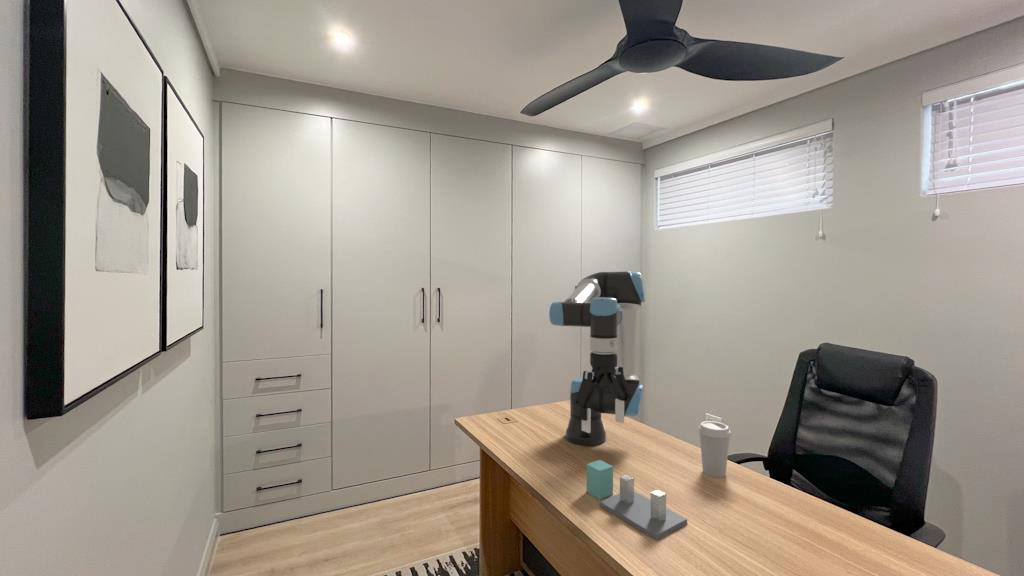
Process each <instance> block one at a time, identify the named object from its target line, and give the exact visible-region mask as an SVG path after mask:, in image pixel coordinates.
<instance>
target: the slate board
mask: <svg viewBox="0 0 1024 576" xmlns="http://www.w3.org/2000/svg"><path fill="white" fill-rule="evenodd" d="M650 505H651V498H650V499H649V498H647V496H645V495H642V494H640V493H638V492H636V491H634V502H633V503H631V504H629V505H626V504H624V503H623V502H621V501H620V493H618V494H615V495H613V496H611V497H610V496H609V497H608V498H604V499H603V500H601V501H599V507H601V508H603V509H604V510H605V511H606V512H608V513H610V514H612V515H614V516H616V517H617V518H619V519H621V520H622V521H624V522H626V523H627V524H628V525H630V526H632V527H633V528H635V529H636V530H639V531H640V532H642V533H644V534H645V535H646V536H649V537H650V538H651V539H653V540H655V541H657V540H659V539H661V538H663V537H665V536H666V535H669V534H670V533H672V532H674V531H676V530H678V529H680V528H682V527H683V526H686V525H687V524H688V519H687V518H686V517H684V516H683V515H680V514H678V513H677V512H675V511H672V510H671V509H669V508H668V507H666V520H665V521H663V522H661V523H658V522H656V521H654V520H653V519H651V518H650Z"/></svg>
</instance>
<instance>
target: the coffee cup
mask: <svg viewBox="0 0 1024 576" xmlns="http://www.w3.org/2000/svg"><path fill="white" fill-rule="evenodd" d="M697 432H698V433H699V442H700V453H701V465H702V467H701V468H702V472H703V474H704V475H707V476H709V477H712V478H724V477H726V475H727V464H728V455H729V454H728V453H729V447H730V445H729V444H730V437H732V432H731V430H730V428H729V426H728V425H727V424H725V423H722V422H718V421H710V420H707V421H705V420H704V421H701V423H700V425H699V426H698V427H697Z"/></svg>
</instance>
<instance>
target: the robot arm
mask: <svg viewBox="0 0 1024 576" xmlns="http://www.w3.org/2000/svg"><path fill="white" fill-rule="evenodd" d="M645 292H646V291H645V285H644V279H643V275H642V274H641V272H639V271H630V270H629V271H600V272H596V273H593V274H590V275H588V276H585V277H584V278H583V279H581V280H580V281H579V282H578V283H577V285H576V287H575V290H574V291H573V292H572V293H571V294H570V295H569V296H568V297H567V298H566V299H565V300H564V301H555V302H554V301H553V302H552V303H551V304H550V306H549V312H548V314H549V315H548V316H549V321H550V323H551V325H553V326H560V327H584V328H585V327H586V328H587V327H589V329H590V331H589V333H590V336H589V345H590V346H589V350H590V351H591V352H590V353H589V365H590V366H591V371H587V370H583V372H582V376H580V377H576V378H574V379H572V381H570V391H569V393H570V397H569V399H570V401H569V403H570V407H569V408H570V409H569V410H570V418H569V421H568V425H567V428H566V430H565V438H566V440H567V441H569V442H570V443H573V444H577V445H581V446H596V445H601V444H603V443H605V442H606V440H607V434H606V431H605V427H604V423H603V421H602V414H606V415H613V416H614V417H615V418H614V420H615V422H617V423H620V424H622V425H623V424H625V417H637V416H639V414H640V411H641V408H642V403H643V397H644V385H642V384H641V383H640V378H639V377H638V376H637V374H636V367H637V365H636V360H637V358H636V357H637V355H636V354H637V353H636V351H637V314H638V312H637V311H638V310H640V309H641V307H642V303H645V302H646V295H645Z"/></svg>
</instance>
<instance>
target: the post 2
mask: <svg viewBox="0 0 1024 576" xmlns="http://www.w3.org/2000/svg"><path fill="white" fill-rule="evenodd" d="M650 500H651V505H650V518H651V519H653V520H654V521H656V522H658V523H661V522H663V521H665V520H666V508H667V493H666V492H663V491H661V490H659V489H655V490H653V491H650Z"/></svg>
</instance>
